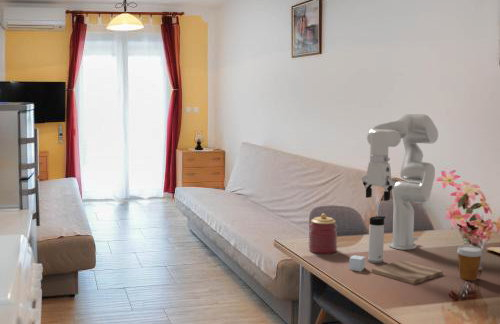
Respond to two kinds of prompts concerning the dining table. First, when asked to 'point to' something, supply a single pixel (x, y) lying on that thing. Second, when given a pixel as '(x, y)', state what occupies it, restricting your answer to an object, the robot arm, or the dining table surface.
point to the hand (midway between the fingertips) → (377, 198)
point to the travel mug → (376, 239)
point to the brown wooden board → (407, 272)
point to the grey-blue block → (356, 263)
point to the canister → (323, 235)
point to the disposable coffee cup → (469, 262)
